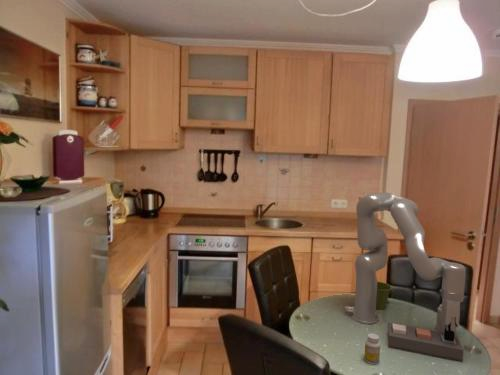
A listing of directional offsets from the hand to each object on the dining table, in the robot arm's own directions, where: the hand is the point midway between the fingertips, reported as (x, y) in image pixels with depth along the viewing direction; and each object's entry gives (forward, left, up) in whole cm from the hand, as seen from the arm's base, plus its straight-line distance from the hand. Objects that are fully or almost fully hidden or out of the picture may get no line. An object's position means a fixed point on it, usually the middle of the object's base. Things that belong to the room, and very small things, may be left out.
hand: (448, 339), depth 137 cm
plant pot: (-26, +33, -5) cm, 43 cm away
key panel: (-9, 0, -5) cm, 11 cm away
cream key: (-18, 0, -3) cm, 18 cm away
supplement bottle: (-28, -18, -5) cm, 34 cm away
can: (+2, +17, -5) cm, 18 cm away
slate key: (0, 0, -4) cm, 4 cm away
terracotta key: (-9, 0, -3) cm, 10 cm away
